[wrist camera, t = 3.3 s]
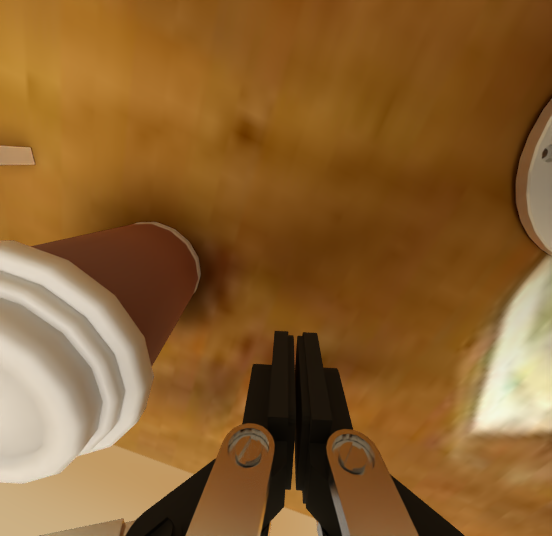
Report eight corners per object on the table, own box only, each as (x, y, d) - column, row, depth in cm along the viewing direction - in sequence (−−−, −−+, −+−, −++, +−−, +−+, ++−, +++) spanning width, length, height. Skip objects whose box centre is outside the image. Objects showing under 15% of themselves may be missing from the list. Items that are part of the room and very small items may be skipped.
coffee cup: (155, 341, 22) (5, 532, 10) (66, 250, 19) (-251, 370, 8) (246, 282, 19) (176, 448, 8) (156, 170, 17) (-115, 185, 6)
